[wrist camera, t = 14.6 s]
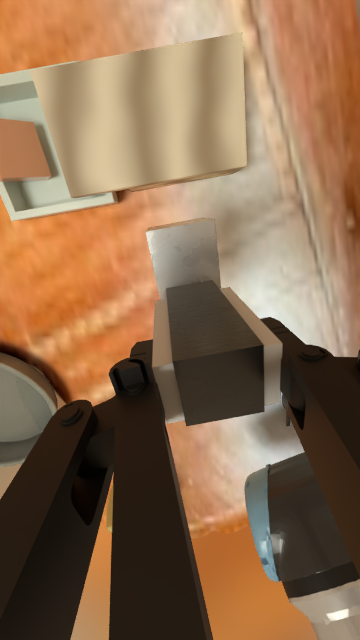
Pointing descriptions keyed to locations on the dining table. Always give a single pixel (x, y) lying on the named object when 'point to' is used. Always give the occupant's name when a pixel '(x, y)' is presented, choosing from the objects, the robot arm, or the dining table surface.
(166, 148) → the ledge
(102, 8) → the dining table surface
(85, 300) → the dining table surface
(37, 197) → the box
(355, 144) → the dining table surface
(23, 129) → the tile
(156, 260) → the scraper
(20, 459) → the cake pan
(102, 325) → the dining table surface
